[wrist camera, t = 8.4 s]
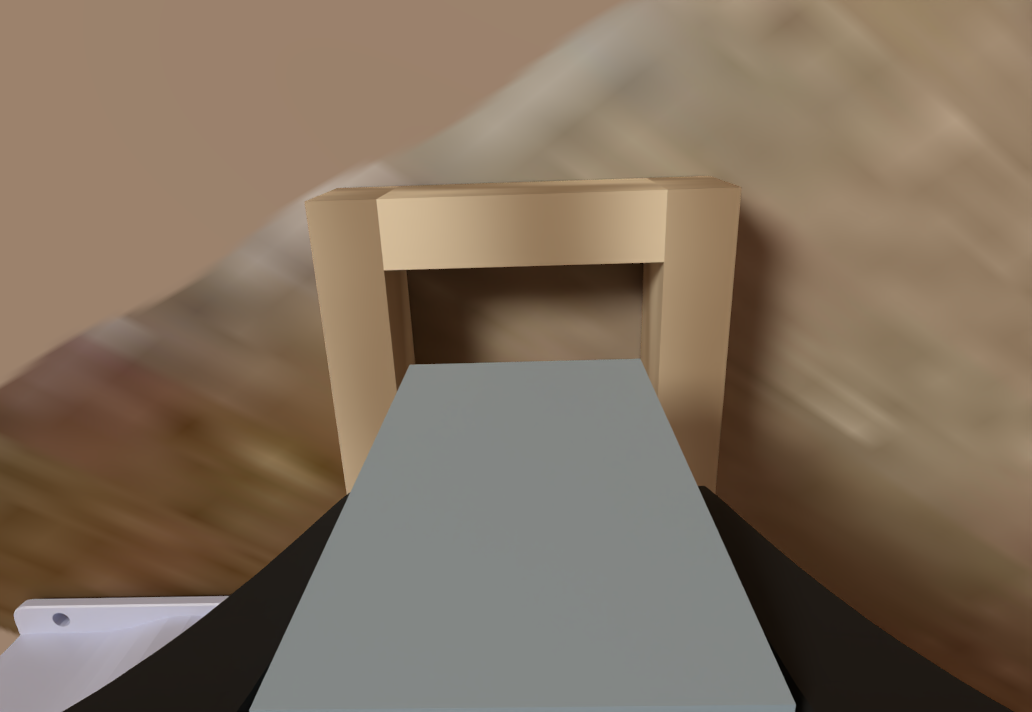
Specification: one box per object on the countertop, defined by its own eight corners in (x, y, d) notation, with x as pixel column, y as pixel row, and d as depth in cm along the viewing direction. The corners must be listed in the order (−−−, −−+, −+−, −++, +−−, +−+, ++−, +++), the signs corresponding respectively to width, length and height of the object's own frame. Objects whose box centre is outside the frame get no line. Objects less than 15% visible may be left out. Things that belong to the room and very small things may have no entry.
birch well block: (377, 504, 19) (356, 559, 17) (337, 188, 16) (304, 201, 14) (687, 498, 19) (710, 553, 16) (709, 175, 16) (741, 187, 13)
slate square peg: (428, 554, 13) (323, 1020, 6) (409, 364, 11) (248, 711, 5) (633, 551, 13) (746, 1023, 6) (640, 358, 11) (795, 704, 5)
